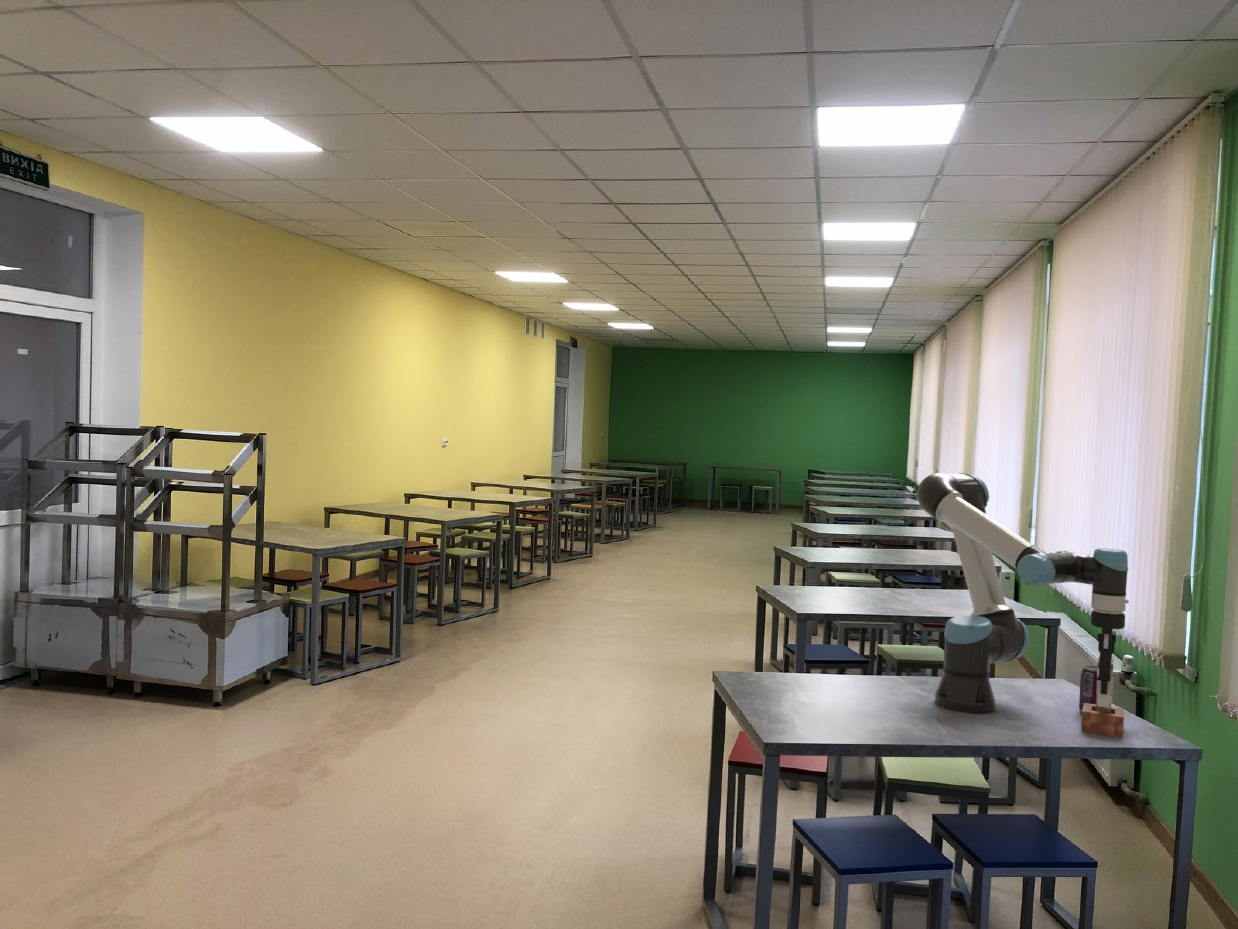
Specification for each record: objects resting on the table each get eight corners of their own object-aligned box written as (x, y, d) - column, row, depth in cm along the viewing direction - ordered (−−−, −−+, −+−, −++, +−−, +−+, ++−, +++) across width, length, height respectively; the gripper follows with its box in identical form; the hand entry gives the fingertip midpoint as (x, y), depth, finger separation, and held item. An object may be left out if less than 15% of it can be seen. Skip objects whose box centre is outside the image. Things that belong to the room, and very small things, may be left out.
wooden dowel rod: (1094, 730, 230) (1097, 658, 229) (1094, 727, 233) (1098, 656, 232) (1110, 733, 228) (1113, 660, 228) (1110, 730, 231) (1113, 658, 231)
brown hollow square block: (1081, 731, 229) (1082, 711, 228) (1083, 722, 236) (1084, 702, 236) (1122, 738, 224) (1123, 717, 224) (1123, 728, 232) (1124, 709, 232)
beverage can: (1112, 718, 241) (1114, 673, 240) (1083, 716, 242) (1085, 670, 242) (1104, 711, 248) (1106, 666, 247) (1075, 708, 249) (1077, 664, 249)
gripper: (1124, 618, 220) (1119, 715, 220) (1126, 608, 235) (1121, 698, 236) (1089, 614, 224) (1084, 709, 224) (1093, 604, 239) (1088, 693, 240)
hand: (1103, 704), depth 230 cm, fingers open, 5 cm apart
